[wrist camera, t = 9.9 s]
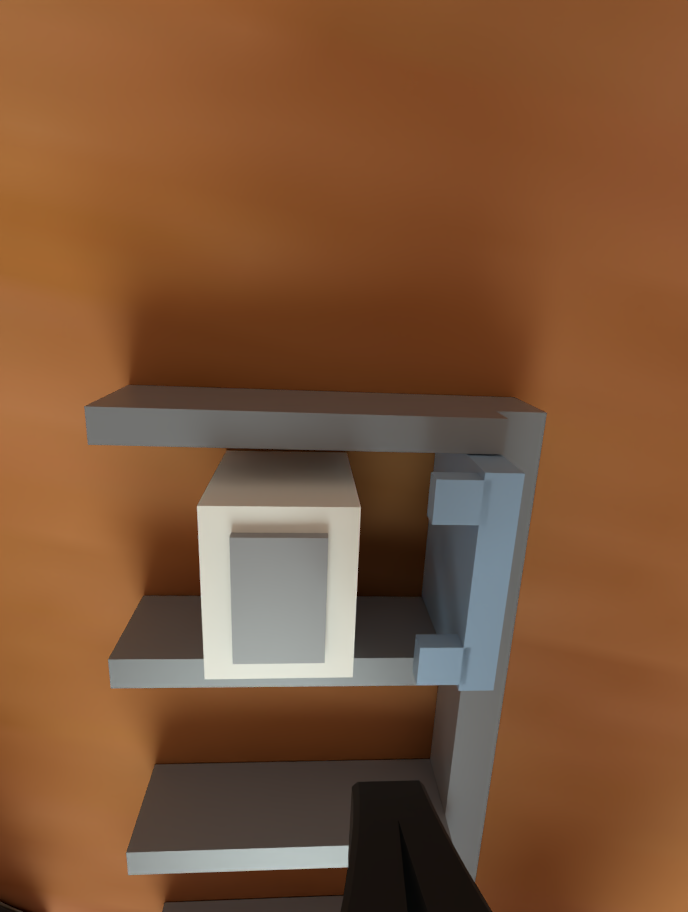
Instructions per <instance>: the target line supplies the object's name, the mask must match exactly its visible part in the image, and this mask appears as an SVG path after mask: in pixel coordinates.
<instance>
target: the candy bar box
mask: <svg viewBox="0 0 688 912" xmlns="http://www.w3.org/2000/svg"><path fill="white" fill-rule="evenodd" d="M0 912H22V911H20V910H18V909H16V908H13V907H11V906H9V905H6V904H4V903H2V902H0Z"/></svg>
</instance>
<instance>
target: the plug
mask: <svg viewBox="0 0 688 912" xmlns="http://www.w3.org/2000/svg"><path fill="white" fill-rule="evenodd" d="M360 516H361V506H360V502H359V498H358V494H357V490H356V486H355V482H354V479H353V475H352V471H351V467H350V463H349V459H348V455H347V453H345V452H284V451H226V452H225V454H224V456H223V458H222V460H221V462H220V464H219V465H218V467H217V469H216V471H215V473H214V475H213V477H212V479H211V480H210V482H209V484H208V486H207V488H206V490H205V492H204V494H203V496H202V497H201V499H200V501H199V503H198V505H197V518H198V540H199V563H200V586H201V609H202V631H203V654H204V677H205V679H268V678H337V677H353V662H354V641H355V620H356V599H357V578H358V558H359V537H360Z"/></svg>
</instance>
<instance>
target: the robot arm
mask: <svg viewBox="0 0 688 912" xmlns="http://www.w3.org/2000/svg"><path fill="white" fill-rule="evenodd" d="M340 912H492V910H491V909H490V907H489V906H488V904H487V902H486V901H485V899H484V897H483V896H482V894H481V892H480V890H479V889H478V887H477V885H476V884H475V882H474V880H473V879H472V877H471V875H470V874H469V872H468V870H467V868H466V867H465V865H464V863H463V861H462V860H461V858H460V856H459V854H458V852H457V851H456V849H455V847H454V845H453V843H452V841H451V839H450V837H449V836H448V834H447V832H446V830H445V828H444V826H443V824H442V822H441V820H440V818H439V816H438V814H437V812H436V810H435V808H434V806H433V804H432V802H431V800H430V797H429V795H428V793H427V791H426V788H425V786H424V785H423V784H422V783H421V782H420V781H419V780H410V781H369V782H357V783H356V784H354V785H353V786H352V793H351V811H350V830H349V848H348V870H347V877H346V883H345V889H344V896H343V901H342V906H341V911H340Z"/></svg>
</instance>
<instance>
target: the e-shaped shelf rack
mask: <svg viewBox="0 0 688 912" xmlns="http://www.w3.org/2000/svg"><path fill="white" fill-rule="evenodd" d="M84 407H85V418H86V428H87V439H88V445H126V446H167V447H209V448H250V449H292V450H333V451H375V452H416V453H435V460H434V470H433V472H431V478H430V489H429V499H428V510H427V516H428V518H429V523H428V533H427V544H426V554H425V565H424V575H423V586H422V597H386V596H357V599H356V620H355V641H354V662H353V677H337V678H268V679H205V677H204V654H203V631H202V609H201V596H143V597H142V599H141V601H140V603H139V604H138V606H137V608H136V610H135V612H134V613H133V615H132V617H131V619H130V621H129V623H128V624H127V626H126V628H125V630H124V632H123V633H122V635H121V637H120V639H119V641H118V643H117V644H116V646H115V648H114V650H113V652H112V654H111V655H110V657H109V659H108V663H109V674H110V685H111V688H193V687H299V686H405V685H438V692H437V701H436V710H435V719H434V728H433V738H432V747H431V756H430V759H402V760H352V761H302V762H252V763H203V764H155V766H154V769H153V772H152V775H151V778H150V781H149V784H148V787H147V791H146V794H145V797H144V800H143V803H142V806H141V809H140V812H139V815H138V818H137V821H136V824H135V827H134V830H133V833H132V837H131V840H130V843H129V846H128V849H127V852H126V855H127V866H128V875H143V874H171V873H200V872H228V871H256V870H285V869H313V868H341V867H348V848H349V830H350V811H351V793H352V786H353V785H354V784H356V783H357V782H369V781H410V780H419V781H420V782H421V783H422V784H423V785H424V786H425V788H426V791H427V793H428V795H429V797H430V800H431V802H432V804H433V806H434V808H435V810H436V812H437V814H438V816H439V818H440V820H441V822H442V824H443V826H444V828H445V830H446V832H447V834H448V836H449V837H450V839H451V841H452V843H453V845H454V847H455V849H456V851H457V852H458V854H459V856H460V858H461V860H462V861H463V863H464V865H465V867H466V868H467V870H468V872H469V874H470V875H471V877H472V879H473V880H474V882H475V879H476V873H477V866H478V860H479V853H480V847H481V840H482V834H483V827H484V820H485V814H486V807H487V801H488V794H489V788H490V781H491V775H492V768H493V761H494V755H495V748H496V742H497V735H498V729H499V722H500V716H501V709H502V703H503V696H504V689H505V683H506V676H507V670H508V663H509V657H510V650H511V644H512V637H513V631H514V624H515V617H516V611H517V604H518V598H519V591H520V585H521V578H522V572H523V565H524V559H525V552H526V545H527V539H528V532H529V526H530V519H531V513H532V506H533V500H534V493H535V486H536V480H537V473H538V467H539V460H540V454H541V447H542V441H543V434H544V428H545V421H546V414H547V413H546V412H544V411H542V410H540V409H538V408H536V407H534V406H532V405H529V404H527V403H525V402H523V401H521V400H519V399H517V398H515V397H488V396H457V395H426V394H395V393H364V392H334V391H303V390H272V389H241V388H210V387H180V386H149V385H127V386H125V387H123V388H121V389H119V390H117V391H115V392H113V393H111V394H109V395H107V396H105V397H103V398H101V399H99V400H97V401H94V402H92V403H90V404H88V405H86V406H84ZM342 901H343V896H320V897H294V898H269V899H243V900H218V901H192V902H167V903H164V907H163V911H162V912H340V911H341V906H342Z"/></svg>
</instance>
